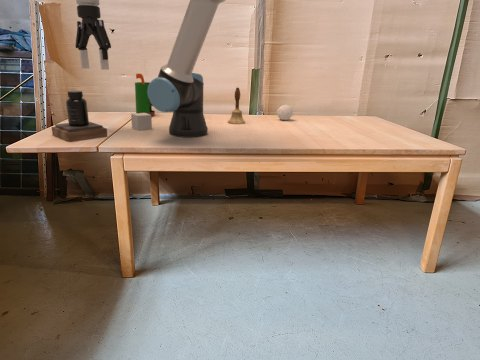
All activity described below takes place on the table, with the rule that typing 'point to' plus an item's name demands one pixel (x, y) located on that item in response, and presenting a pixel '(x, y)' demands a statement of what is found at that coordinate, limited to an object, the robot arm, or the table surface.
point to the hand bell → (236, 111)
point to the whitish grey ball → (285, 112)
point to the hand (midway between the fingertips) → (95, 69)
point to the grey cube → (141, 121)
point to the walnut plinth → (79, 131)
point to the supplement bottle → (77, 109)
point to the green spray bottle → (143, 97)
